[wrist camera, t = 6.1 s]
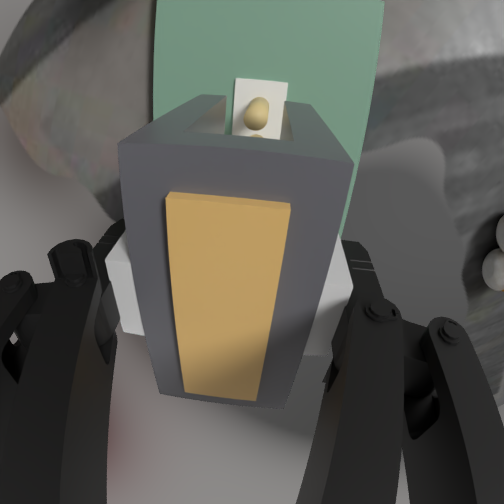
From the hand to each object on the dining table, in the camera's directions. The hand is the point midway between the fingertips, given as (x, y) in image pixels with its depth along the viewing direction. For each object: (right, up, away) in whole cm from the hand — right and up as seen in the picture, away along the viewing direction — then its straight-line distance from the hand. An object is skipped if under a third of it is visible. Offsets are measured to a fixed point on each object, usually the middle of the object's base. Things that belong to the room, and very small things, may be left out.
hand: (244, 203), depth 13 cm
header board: (+1, +6, +8) cm, 10 cm away
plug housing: (0, +1, +1) cm, 2 cm away
